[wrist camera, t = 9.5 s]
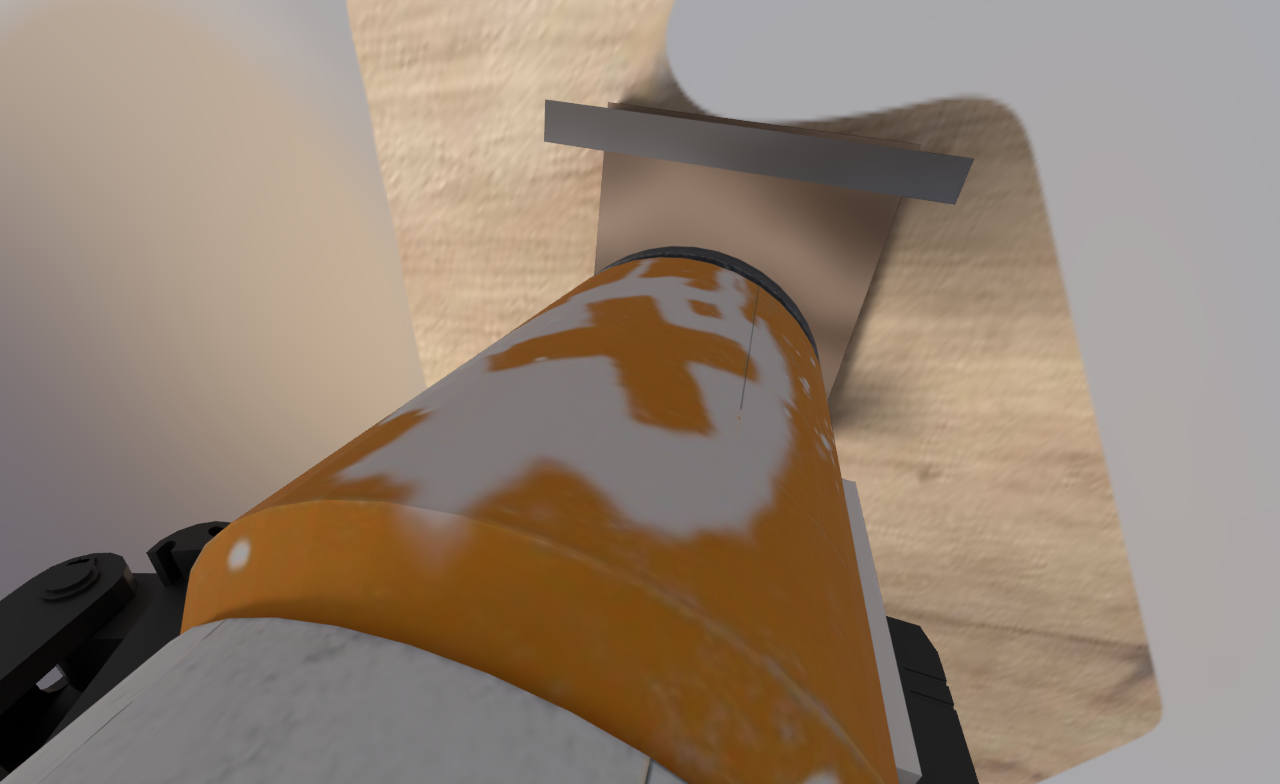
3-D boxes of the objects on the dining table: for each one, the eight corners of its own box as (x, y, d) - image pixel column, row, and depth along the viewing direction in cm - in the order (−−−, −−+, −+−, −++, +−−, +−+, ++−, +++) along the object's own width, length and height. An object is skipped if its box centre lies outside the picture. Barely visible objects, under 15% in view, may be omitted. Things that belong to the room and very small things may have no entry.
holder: (805, 446, 34) (813, 542, 25) (590, 394, 36) (535, 466, 28) (913, 144, 24) (980, 142, 16) (616, 104, 27) (545, 84, 19)
